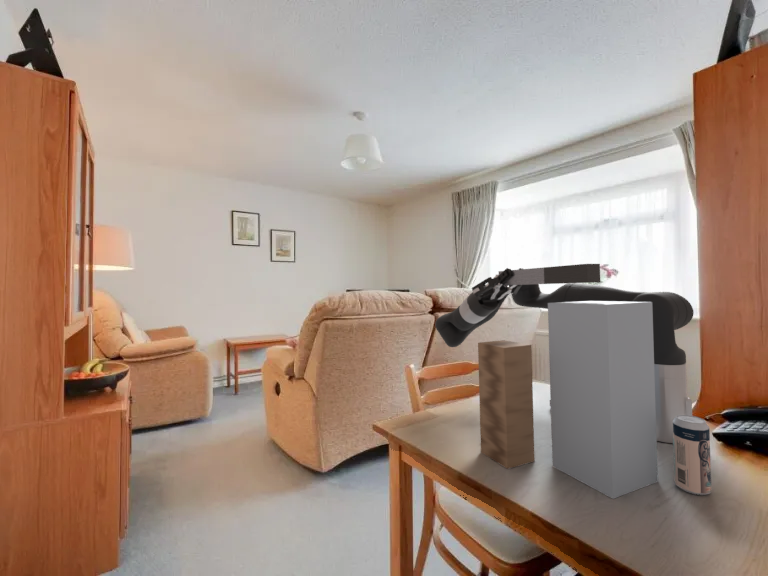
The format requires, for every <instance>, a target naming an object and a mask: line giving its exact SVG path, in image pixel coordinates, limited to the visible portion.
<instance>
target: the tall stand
mask: <svg viewBox="0 0 768 576" xmlns="http://www.w3.org/2000/svg"><path fill="white" fill-rule="evenodd" d="M547 321H548V322H547V326H548V352H549V353H548V357H549V358H548V360H549V362H548V363H549V391H550V392H549V393H550V400H551V406H550V424H551V425H550V427H551V459H552V460H551V461H552V462H551V463H552V467H553V468H555V469H556V470H559V471H560V472H562V473H564V474H565V475H568V476H569V477H571V478H574V479H576V480H577V481H579V482H581V483H583V484H584V485H587V486H588V487H590V488H592V489H594V490H596V491H598V492H600V493H601V494H603V495H605V496H607V497H609V498H611V499H613V500H614V499H616V498H618V497H621V496H624V495H627V494H630V493H632V492H634V491H637V490H640V489H643V488H645V487H648V486H650V485H653V484H656V483H658V481H659V479H658V446H657V442H658V441H657V440H656V408H655V375H654V342H653V309H652V302H627V301H577V302H557V303H548V309H547Z"/></svg>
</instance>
